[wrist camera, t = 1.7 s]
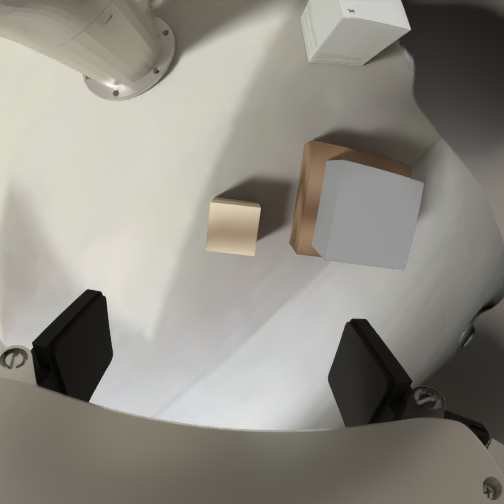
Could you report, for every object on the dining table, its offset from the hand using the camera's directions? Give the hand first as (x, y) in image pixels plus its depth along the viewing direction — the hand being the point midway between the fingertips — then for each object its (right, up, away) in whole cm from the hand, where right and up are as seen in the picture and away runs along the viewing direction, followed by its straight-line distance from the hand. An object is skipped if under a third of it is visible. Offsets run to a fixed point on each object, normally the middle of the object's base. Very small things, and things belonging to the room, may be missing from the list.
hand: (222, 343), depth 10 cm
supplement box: (+11, +30, +17) cm, 36 cm away
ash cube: (-1, +7, +23) cm, 24 cm away
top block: (+12, +8, +19) cm, 24 cm away
